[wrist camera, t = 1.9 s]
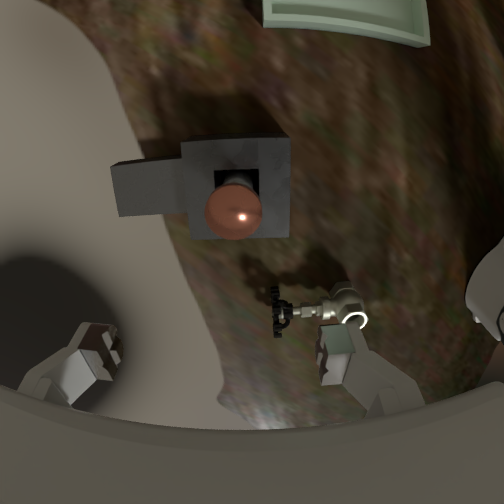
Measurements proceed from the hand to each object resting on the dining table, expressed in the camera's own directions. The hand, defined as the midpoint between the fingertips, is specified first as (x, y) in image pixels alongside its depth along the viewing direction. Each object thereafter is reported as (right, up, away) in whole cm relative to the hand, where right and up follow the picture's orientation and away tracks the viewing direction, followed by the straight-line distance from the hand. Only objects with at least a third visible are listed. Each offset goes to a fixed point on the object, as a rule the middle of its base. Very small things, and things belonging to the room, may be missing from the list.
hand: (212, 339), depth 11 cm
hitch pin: (0, +12, +21) cm, 24 cm away
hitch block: (-4, +11, +21) cm, 24 cm away
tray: (+11, +33, +9) cm, 36 cm away
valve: (+10, -2, +29) cm, 31 cm away
